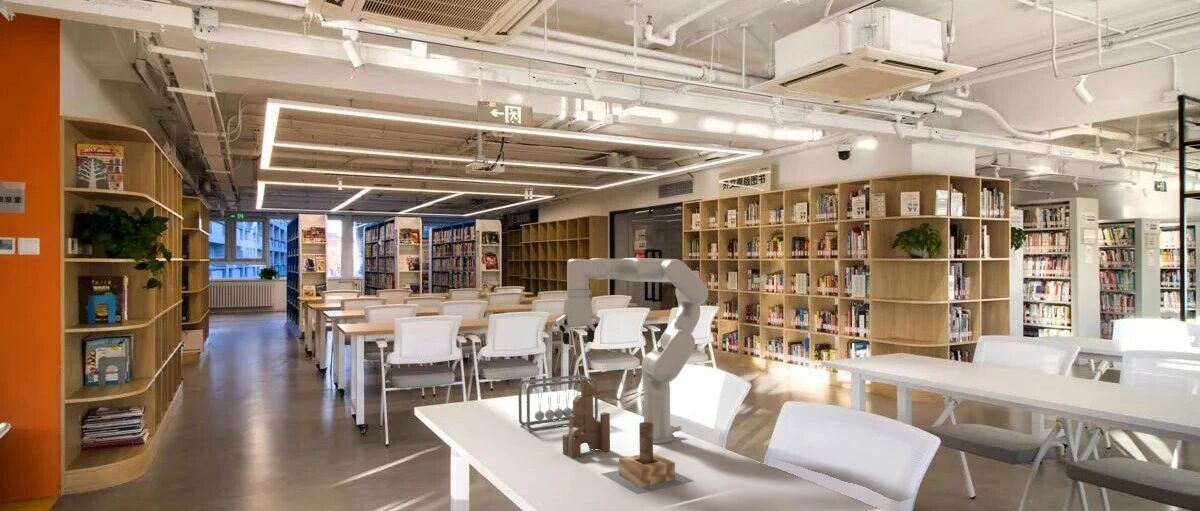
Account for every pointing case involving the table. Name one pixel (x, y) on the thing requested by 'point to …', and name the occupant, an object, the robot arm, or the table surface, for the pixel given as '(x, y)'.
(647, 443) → the walnut dowel
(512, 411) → the table surface
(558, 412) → the newton's cradle
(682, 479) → the slate mat
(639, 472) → the square-hole wood block
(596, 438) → the wooden toy
